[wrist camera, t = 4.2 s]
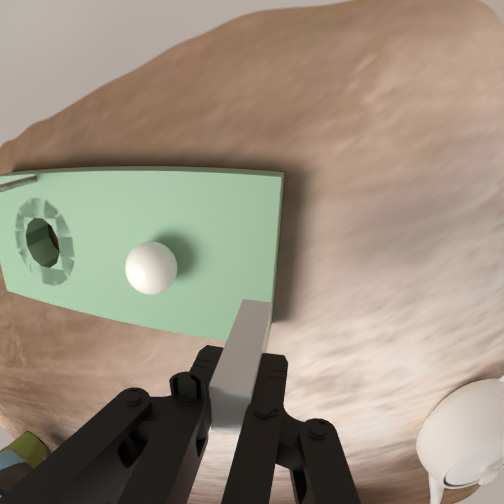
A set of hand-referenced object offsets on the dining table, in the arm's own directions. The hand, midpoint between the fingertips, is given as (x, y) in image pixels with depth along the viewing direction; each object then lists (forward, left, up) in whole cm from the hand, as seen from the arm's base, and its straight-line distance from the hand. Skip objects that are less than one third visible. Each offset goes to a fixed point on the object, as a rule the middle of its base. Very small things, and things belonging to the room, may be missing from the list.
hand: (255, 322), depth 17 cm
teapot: (+27, -20, -12) cm, 36 cm away
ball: (-9, 0, -6) cm, 10 cm away
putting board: (-16, 0, -12) cm, 19 cm away
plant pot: (-53, -55, -12) cm, 77 cm away
